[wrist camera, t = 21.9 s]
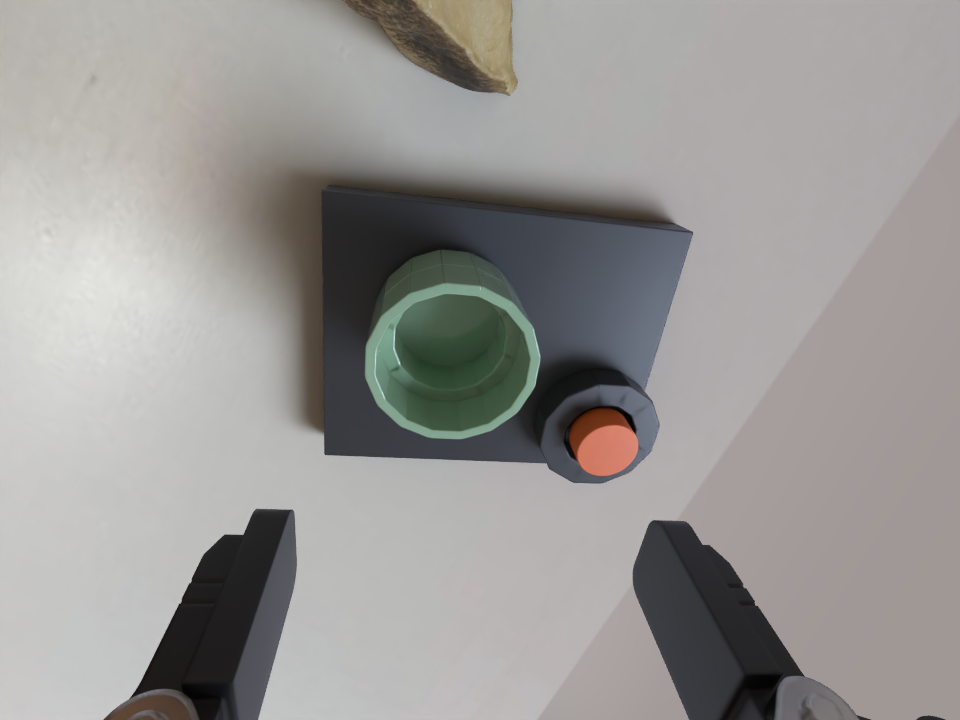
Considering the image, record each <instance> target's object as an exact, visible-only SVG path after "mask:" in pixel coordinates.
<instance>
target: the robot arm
mask: <svg viewBox="0 0 960 720" xmlns="http://www.w3.org/2000/svg"><path fill="white" fill-rule="evenodd" d="M296 567H297V556H296V535H295V516H294V511H293V510H278V509H256V510H255V511H254V512H253V514H252V516H251V518H250V521H249V523H248V526H247V528H246V530H245V533H244V535H224V536H223V537H222V538H221V539H219V540H218V541H217V542H216V543H215V544H214V545H213V546H212V547H211V548H210V549H209V550H208V551H207V552H206V553H205V554H204V555H203V557H202V559H201V561H200V563H199V565H198V567H197V569H196V571H195V573H194V575H193V577H192V582H191V583H189V585H188V587H187V589H186V591H185V593H184V596H183V598H182V602H181V604H179V606H178V608H177V610H176V612H175V614H174V616H173V618H172V620H171V622H170V624H169V626H168V628H167V630H166V632H165V634H164V636H163V638H162V640H161V642H160V644H159V646H158V648H157V650H156V652H155V654H154V656H153V658H152V660H151V662H150V664H149V666H148V668H147V670H146V672H145V675H144V677H143V679H142V681H141V682H140V684H139V686H138V688H137V689H136V691H135V692H134V694H133V695H132V696H131V698H130V699H129V700H127V701H126V702H124V703H123V704H121V705H120V706H118V707H117V708H116V709H114V710H113V711H112V712H111V713H110V714H109V715H108V716H107V717H106V718H105V719H104V720H258V717H259V714H260V710H261V706H262V703H263V699H264V695H265V692H266V688H267V684H268V681H269V677H270V673H271V670H272V666H273V662H274V659H275V655H276V651H277V648H278V644H279V640H280V637H281V633H282V629H283V626H284V622H285V618H286V615H287V611H288V608H289V604H290V600H291V597H292V593H293V589H294V583H295V577H296ZM633 585H634V590H635V593H636V596H637V598H638V601H639V603H640V606H641V608H642V610H643V613H644V615H645V617H646V620H647V622H648V624H649V626H650V629H651V631H652V634H653V636H654V638H655V640H656V643H657V645H658V648H659V650H660V652H661V655H662V657H663V659H664V661H665V664H666V666H667V668H668V671H669V673H670V675H671V678H672V680H673V683H674V685H675V687H676V690H677V692H678V694H679V697H680V699H681V701H682V704H683V706H684V708H685V711H686V713H687V715H688V718H689V720H870V719H867V718H864V717H860V716H858V715H856V714H855V712H854V711H853V710H852V709H851V708H850V706H849V705H848V704H847V703H846V702H845V701H844V700H843V699H842V698H841V697H840V696H838V695H837V694H836V693H835V692H834V691H832V690H831V689H830V688H828V687H826V686H825V685H823V684H821V683H820V682H817V681H815V680H813V679H810V678H807V677H805V676H804V675H803V673H802V672H801V671H800V669H799V668H798V666H797V665H796V663H795V662H794V660H793V659H792V657H791V656H790V654H789V653H788V651H787V649H786V648H785V646H784V645H783V644H782V642H781V640H780V639H779V637H778V636H777V634H776V633H775V631H774V630H773V628H772V627H771V625H770V624H769V622H768V621H767V619H766V618H765V616H764V615H763V613H762V612H761V610H760V609H759V607H758V606H755V603H754V602H755V601H754V600H753V598H752V597H751V595H750V594H749V592H748V591H747V589H746V588H744V587H743V583H742V581H741V580H740V579H739V577H738V575H737V574H736V572H735V571H734V569H733V568H732V566H731V565H730V563H729V562H727V561H726V560H725V559H724V558H723V557H722V556H721V555H720V554H719V553H718V552H716V551H715V550H714V549H713V548H712V547H711V546H710V545H702V543H701V542H700V540H699V538H698V537H697V536H696V534H695V532H694V531H693V529H692V527H691V526H690V525H689V524H688V523H687V522H684V521H658V520H654V521H652V522H650V524H649V526H648V528H647V531H646V534H645V536H644V539H643V542H642V545H641V547H640V550H639V553H638V556H637V559H636V561H635V564H634V568H633ZM917 720H945V719H941V718H938V717H934V716H922V717H920V718H918V719H917Z"/></svg>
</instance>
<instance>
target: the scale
mask: <svg viewBox="0 0 960 720" xmlns="http://www.w3.org/2000/svg"><path fill="white" fill-rule="evenodd" d="M692 235H693V232H692V231H690V230H687V229H685V228H683V227H681V226H679V225H676V224H667V223H658V222H649V221H640V220H632V219H623V218H614V217H605V216H596V215H588V214H579V213H570V212H561V211H552V210H543V209H535V208H526V207H517V206H508V205H499V204H491V203H482V202H473V201H464V200H455V199H446V198H438V197H429V196H420V195H411V194H402V193H394V192H385V191H376V190H367V189H358V188H349V187H341V186H332V185H328V186H327V187H326V188H325V189H324V190H322V277H323V366H324V454H325V455H339V456H366V457H393V458H419V459H446V460H473V461H499V462H526V463H547V465H548V467H549V469H551V470H552V471H554V472H555V473H557V474H559V475H561V476H562V477H564V478H566V479H568V480H569V481H571V482H573V483H599V484H600V483H604V482H607V481H609V480H612V479H614V478H617V477H620V476H622V475H625V474H627V473H629V472H630V471H632V470H633V469H634V468H635V467H636V466H637V465H638V464H639V463H640V462H641V461H642V460H643V459H644V458H645V457H646V456H647V455H648V454H649V453H650V451H652V448H653V445H654V442H655V439H656V436H657V433H658V430H659V421H658V418H657V415H656V411H655V408H654V405H653V402H652V400H651V399H650V398H649V397H648V395H647V394H646V393H645V388H646V384H647V381H648V378H649V375H650V371H651V368H652V365H653V362H654V358H655V355H656V352H657V349H658V345H659V342H660V339H661V336H662V332H663V329H664V326H665V323H666V319H667V316H668V313H669V310H670V307H671V303H672V300H673V297H674V294H675V290H676V287H677V284H678V281H679V277H680V274H681V271H682V268H683V264H684V261H685V258H686V255H687V251H688V248H689V245H690V242H691V238H692ZM442 249H443V250H453V251H463V252H470V253H472V254H475V255H476V256H478V257H480V258H482V259H484V260H486V261H488V262H489V263H491V264H493V265H495V266H496V267H498V269H499V270H500V271H501V272H502V274H503V275H504V276H505V277H506V279H507V280H508V281H509V283H510V284H511V285H512V286H513V288H514V290H515V292H516V294H517V296H518V298H519V300H520V302H521V304H522V306H523V308H524V310H525V312H526V314H527V316H528V318H529V320H530V322H531V324H532V326H533V328H534V331H535V335H536V339H537V344H538V348H539V352H540V356H541V357H540V358H541V359H540V364H539V369H538V374H537V379H536V384H535V387H534V389H533V391H532V392H531V394H530V395H529V397H528V398H527V400H526V401H525V402H524V404H523V405H522V407H521V408H520V410H519V411H518V412H517V413H516V414H515V415H513V416H512V417H511V418H509V419H508V420H506V421H505V422H503V423H502V424H501V425H499V426H498V427H496V428H495V429H493V430H491V431H489V432H485V433H482V434H478V435H475V436H471V437H468V438H464V439H442V438H430V437H429V438H428V437H426V436H423V435H421V434H418V433H416V432H413V431H411V430H408V429H406V428H403V427H401V426H399V425H398V424H397V423H396V422H395V421H394V420H393V419H392V418H391V417H389V416H388V415H387V414H386V413H385V412H384V411H383V410H382V409H381V408H380V407H379V406H378V405H377V404H376V401H375V399H374V397H373V395H372V392H371V390H370V388H369V386H368V383H367V381H366V379H365V348H366V342H367V338H368V334H369V329H370V325H371V321H372V317H373V312H374V308H375V304H376V300H377V298H378V296H379V294H380V292H381V290H382V288H383V286H384V284H385V282H386V280H387V278H388V277H389V276H390V275H391V274H392V273H394V272H395V271H396V270H397V269H398V268H400V267H401V266H402V265H403V264H404V263H406V262H407V261H408V260H409V259H412V258H413V257H416V256H420V255H423V254H426V253H430V252H433V251H436V250H442ZM596 408H610V409H614V410H616V411H618V412H619V413H621V414H622V415H623V416H624V418H625V419H626V421H627V422H628V424H629V426H630V427H631V429H632V430H633V432H634V433H635V435H636V437H637V439H638V451H637V454H636V457H635V458H634V460H633V461H632V462H631V464H630V465H628V466H627V467H626V468H625V469H623V470H622V471H620V472H618V473H615V474H612V475H607V476H597V475H592V474H590V473H588V472H586V471H585V470H583V469H582V468H581V466H580V465H579V463H578V461H577V459H576V457H575V454H574V452H573V450H572V447H571V445H570V442H569V432H570V429H571V426H572V424H573V423H574V422H575V420H576V419H577V418H578V417H579V416H581V415H582V414H583V413H585V412H587V411H589V410H592V409H596Z"/></svg>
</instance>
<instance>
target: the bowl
mask: <svg viewBox="0 0 960 720" xmlns="http://www.w3.org/2000/svg"><path fill="white" fill-rule="evenodd" d="M540 357H541V356H540V352H539V348H538V344H537V339H536V335H535V331H534V328H533V326H532V324H531V322H530V320H529V318H528V316H527V314H526V312H525V310H524V308H523V306H522V304H521V302H520V300H519V298H518V296H517V294H516V292H515V290H514V288H513V286H512V285H511V284H510V283H509V281H508V280H507V279H506V277H505V276H504V275H503V274H502V272H501V271H500V270H499V269H498V267H496V266H495V265H493V264H491V263H489V262H488V261H486V260H484V259H482V258H480V257H478V256H476V255H475V254H472V253H470V252H463V251H453V250H443V249H442V250H436V251H433V252H430V253H426V254H423V255H420V256H416V257H413V258H412V259H409V260H408V261H407V262H406V263H404V264H403V265H402V266H401V267H400V268H398V269H397V270H396V271H395V272H394V273H392V274H391V275H390V276H389V277H388V278H387V280H386V282H385V284H384V286H383V288H382V290H381V292H380V294H379V296H378V298H377V300H376V304H375V308H374V312H373V317H372V321H371V325H370V329H369V334H368V338H367V342H366V348H365V379H366V381H367V383H368V386H369V388H370V390H371V392H372V395H373V397H374V399H375V401H376V404H377V405H378V406H379V407H380V408H381V409H382V410H383V411H384V412H385V413H386V414H387V415H388V416H389V417H391V418H392V419H393V420H394V421H395V422H396V423H397V424H398V425H399V426H401V427H403V428H406V429H408V430H411V431H413V432H416V433H418V434H421V435H423V436H426V437H428V438H429V437H430V438H442V439H464V438H468V437H471V436H475V435H478V434H482V433H485V432H489V431H491V430H493V429H495V428H496V427H498V426H499V425H501V424H502V423H503V422H505V421H506V420H508V419H509V418H511V417H512V416H513V415H515V414H516V413H517V412H518V411H519V410H520V408H521V407H522V405H523V404H524V402H525V401H526V400H527V398H528V397H529V395H530V394H531V392H532V391H533V389H534V387H535V384H536V379H537V374H538V369H539V364H540V359H541V358H540Z"/></svg>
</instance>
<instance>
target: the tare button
mask: <svg viewBox="0 0 960 720" xmlns="http://www.w3.org/2000/svg"><path fill="white" fill-rule="evenodd" d="M569 442H570V445H571V447H572V450H573V452H574V454H575V457H576V459H577V461H578V463H579V465H580V466H581V468H582V469H583V470H585V471H586V472H588V473H590V474H592V475H597V476H607V475H612V474H615V473H618V472H620V471H622V470H623V469H625V468H626V467H627V466H628V465H630V464H631V462H632V461H633V460H634V458H635V457H636V454H637V451H638V439H637V437H636V435H635V433H634V432H633V430H632V429H631V427H630V426H629V424H628V422H627V421H626V419H625V418H624V416H623V415H622V414H621V413H619V412H618V411H616V410H614V409H610V408H596V409H592V410H589V411H587V412H585V413H583V414H582V415H581V416H579V417H578V418H577V419H576V420H575V422H574V423H573V424H572V426H571V429H570V432H569Z"/></svg>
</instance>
